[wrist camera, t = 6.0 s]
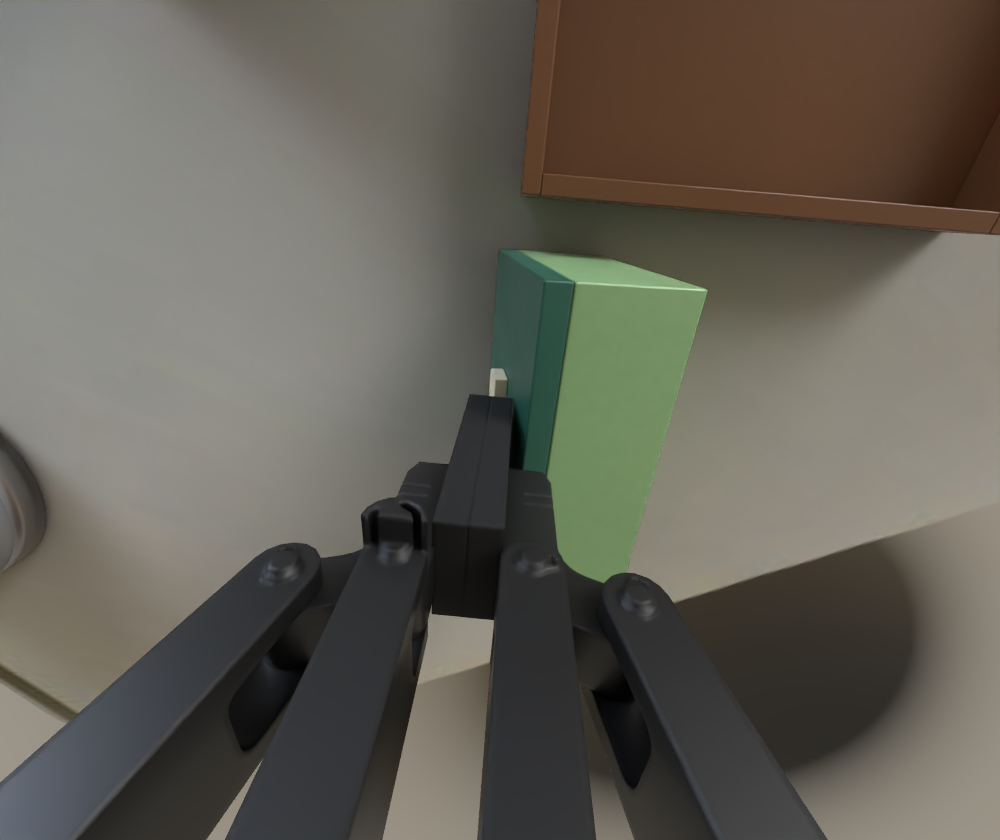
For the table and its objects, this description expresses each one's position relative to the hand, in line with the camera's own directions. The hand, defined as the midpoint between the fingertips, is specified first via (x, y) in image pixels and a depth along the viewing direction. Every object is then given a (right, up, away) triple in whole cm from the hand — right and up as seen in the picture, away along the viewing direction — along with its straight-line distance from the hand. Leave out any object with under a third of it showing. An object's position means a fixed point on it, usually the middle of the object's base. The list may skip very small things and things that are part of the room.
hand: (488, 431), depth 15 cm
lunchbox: (+2, +3, +5) cm, 6 cm away
